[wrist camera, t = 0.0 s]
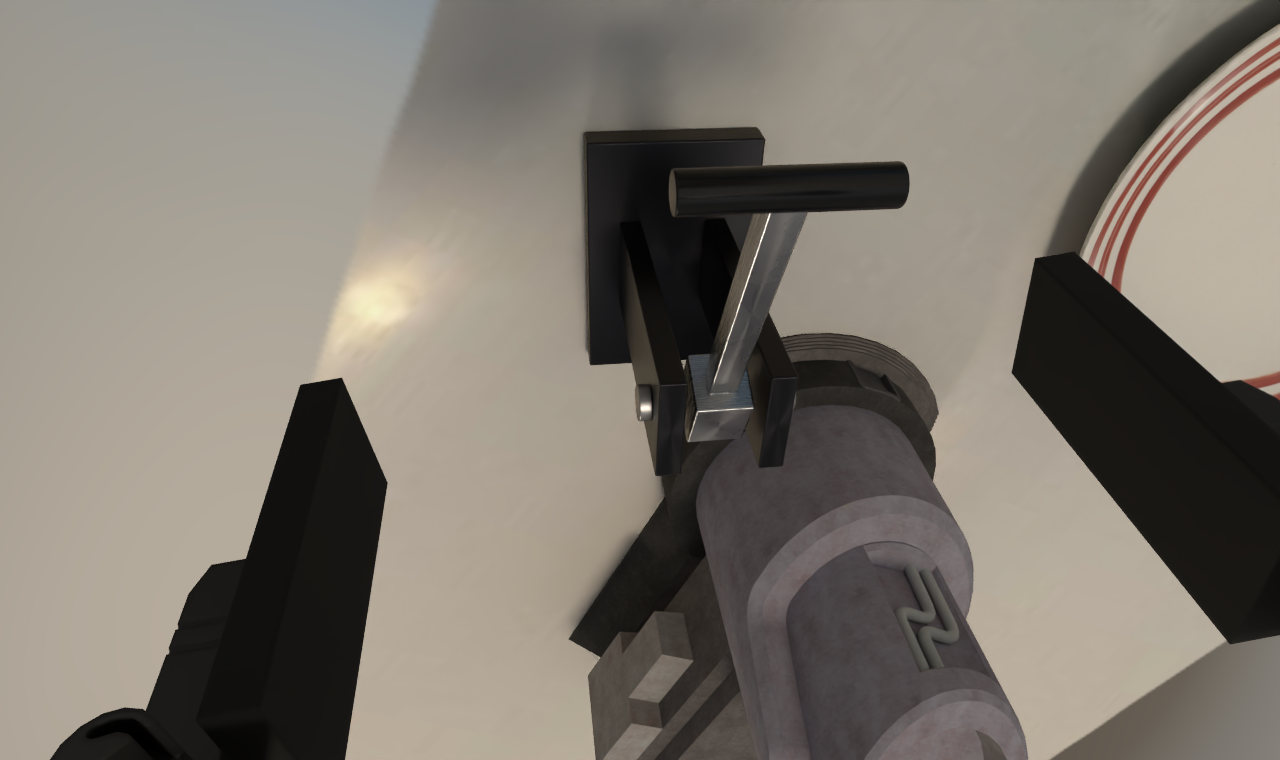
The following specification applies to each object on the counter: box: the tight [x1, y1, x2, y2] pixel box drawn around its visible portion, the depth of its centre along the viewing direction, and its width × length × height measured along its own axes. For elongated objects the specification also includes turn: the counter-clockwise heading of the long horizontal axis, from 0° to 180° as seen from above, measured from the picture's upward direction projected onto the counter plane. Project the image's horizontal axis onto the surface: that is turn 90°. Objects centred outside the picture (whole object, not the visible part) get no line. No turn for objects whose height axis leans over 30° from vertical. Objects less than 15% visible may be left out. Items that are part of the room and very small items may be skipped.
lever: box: [669, 161, 909, 442], centre depth 27 cm, size 14×6×2 cm, turn 178°
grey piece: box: [569, 334, 1028, 760], centre depth 45 cm, size 30×16×24 cm, turn 153°
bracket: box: [584, 128, 798, 476], centre depth 36 cm, size 12×8×14 cm, turn 178°
